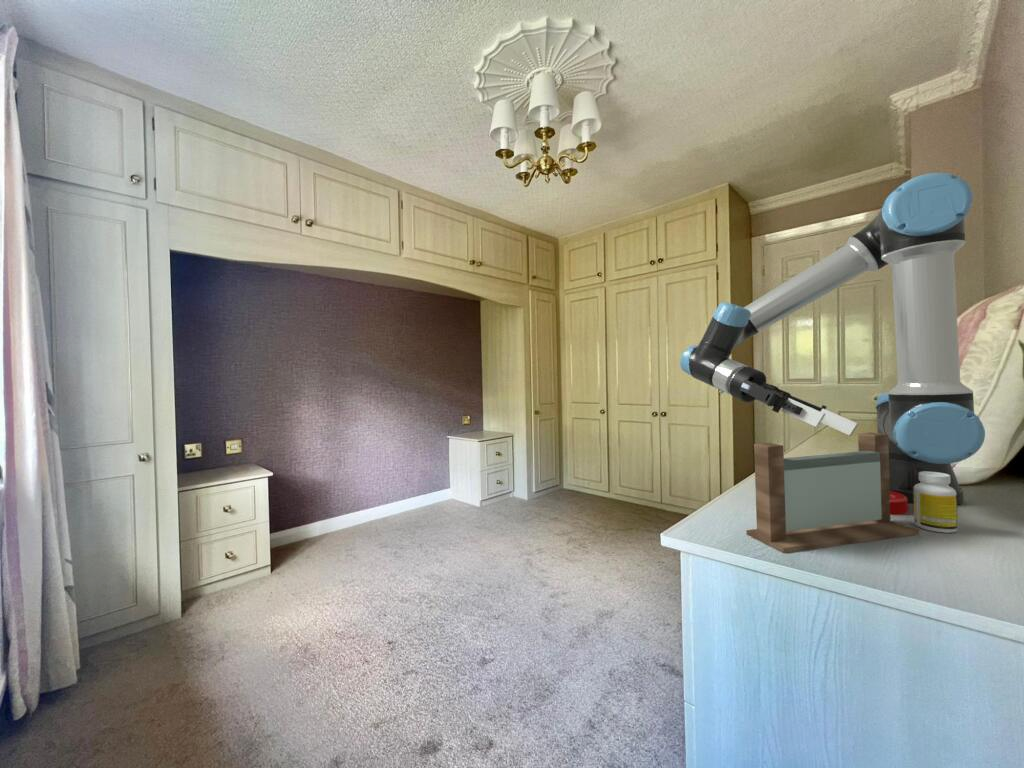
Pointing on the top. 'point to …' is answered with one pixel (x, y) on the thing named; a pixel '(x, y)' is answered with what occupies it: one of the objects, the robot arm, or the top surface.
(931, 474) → the supplement bottle
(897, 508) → the decorative ornament
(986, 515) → the top surface
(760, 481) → the gate frame
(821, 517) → the gate
